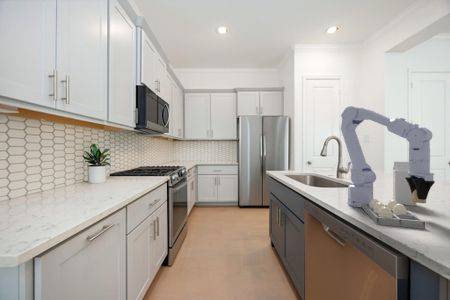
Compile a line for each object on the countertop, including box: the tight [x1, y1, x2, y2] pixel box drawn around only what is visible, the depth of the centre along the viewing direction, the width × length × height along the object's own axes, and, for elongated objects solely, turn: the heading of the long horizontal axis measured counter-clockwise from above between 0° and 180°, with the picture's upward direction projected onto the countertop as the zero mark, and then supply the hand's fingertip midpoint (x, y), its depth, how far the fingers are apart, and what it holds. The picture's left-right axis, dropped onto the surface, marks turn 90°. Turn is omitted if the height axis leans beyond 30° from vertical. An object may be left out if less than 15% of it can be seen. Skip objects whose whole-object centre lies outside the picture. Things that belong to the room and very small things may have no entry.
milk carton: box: [392, 161, 417, 207], centre depth 98 cm, size 7×7×19 cm
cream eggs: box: [369, 198, 408, 218], centre depth 79 cm, size 10×16×5 cm, turn 159°
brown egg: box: [412, 190, 427, 204], centre depth 79 cm, size 4×4×5 cm
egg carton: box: [362, 204, 426, 229], centre depth 79 cm, size 13×19×2 cm
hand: (419, 197), depth 79 cm, fingers closed on brown egg, 4 cm apart
